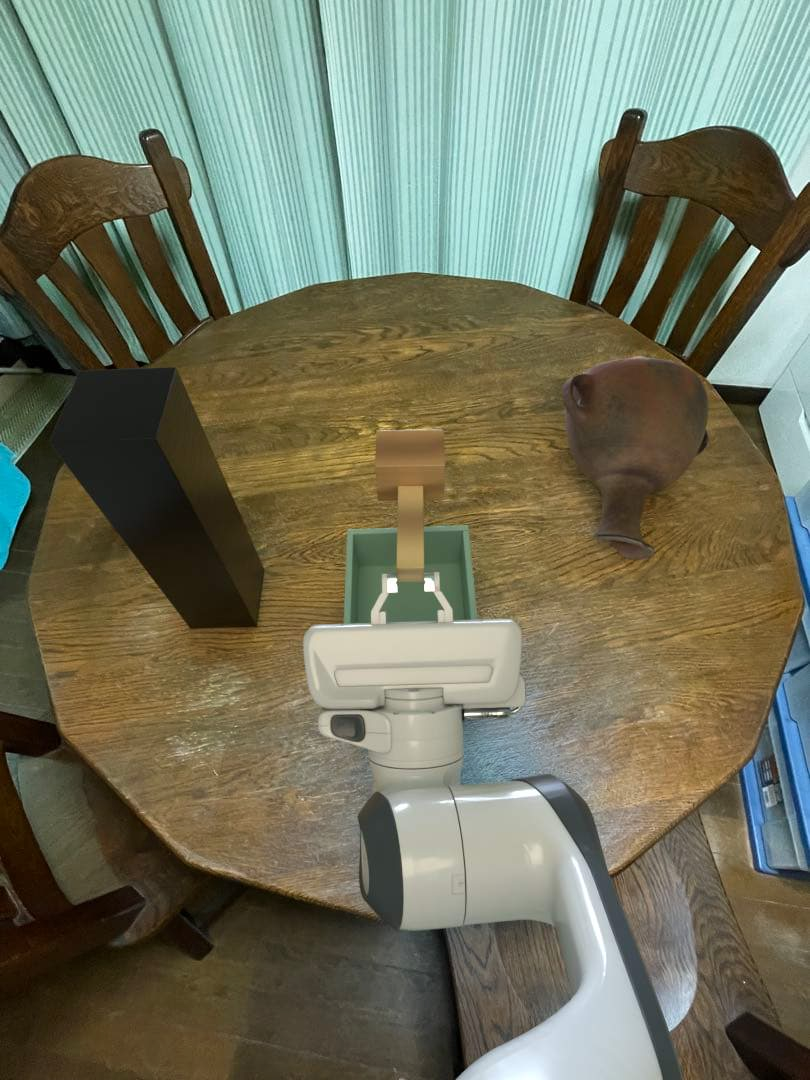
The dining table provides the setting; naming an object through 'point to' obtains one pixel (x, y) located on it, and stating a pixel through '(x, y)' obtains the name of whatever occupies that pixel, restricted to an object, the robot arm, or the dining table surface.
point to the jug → (634, 437)
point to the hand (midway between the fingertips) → (410, 573)
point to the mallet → (410, 488)
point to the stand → (162, 491)
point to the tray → (411, 603)
